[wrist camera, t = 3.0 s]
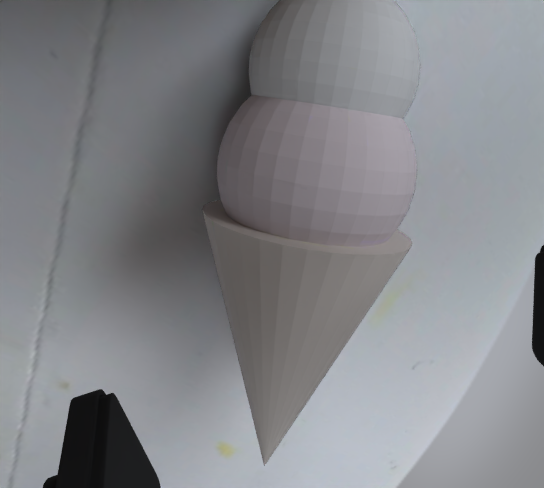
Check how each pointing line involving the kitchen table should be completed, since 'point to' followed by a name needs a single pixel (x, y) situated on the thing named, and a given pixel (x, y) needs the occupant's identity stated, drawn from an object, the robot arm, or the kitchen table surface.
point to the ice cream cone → (312, 193)
